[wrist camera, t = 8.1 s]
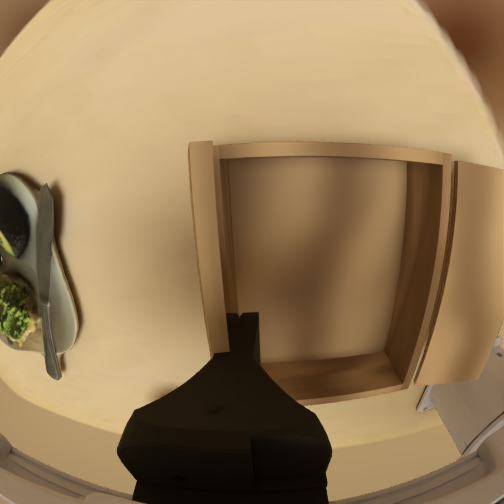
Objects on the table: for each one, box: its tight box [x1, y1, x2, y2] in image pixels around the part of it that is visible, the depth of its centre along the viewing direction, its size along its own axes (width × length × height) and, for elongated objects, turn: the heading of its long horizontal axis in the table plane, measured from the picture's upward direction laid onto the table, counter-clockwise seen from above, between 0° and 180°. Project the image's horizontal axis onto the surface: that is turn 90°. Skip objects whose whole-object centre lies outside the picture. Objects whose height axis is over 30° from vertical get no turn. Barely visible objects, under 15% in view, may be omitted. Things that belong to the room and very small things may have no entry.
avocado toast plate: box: [0, 172, 79, 380], centre depth 17 cm, size 19×18×5 cm
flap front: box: [188, 141, 230, 359], centre depth 11 cm, size 6×14×1 cm
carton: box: [212, 142, 451, 406], centre depth 15 cm, size 12×15×4 cm
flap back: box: [414, 161, 504, 385], centre depth 12 cm, size 6×14×1 cm, turn 2°
